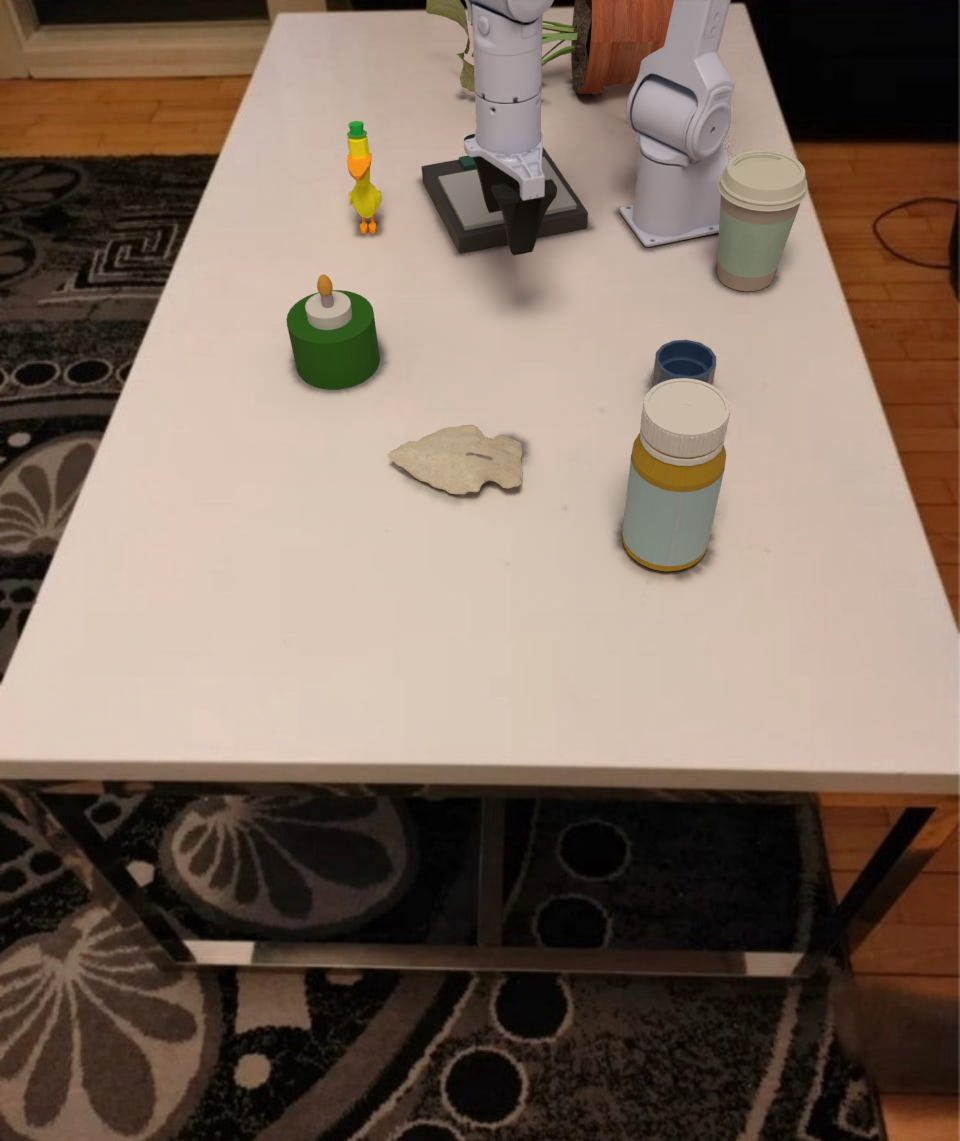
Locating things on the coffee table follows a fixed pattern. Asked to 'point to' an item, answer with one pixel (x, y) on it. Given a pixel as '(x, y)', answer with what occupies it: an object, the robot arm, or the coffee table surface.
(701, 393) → the bottle
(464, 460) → the decorative stone
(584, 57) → the potted plant
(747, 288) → the coffee cup
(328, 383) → the candle
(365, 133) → the toy figure
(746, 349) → the coffee table surface
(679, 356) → the blue cup
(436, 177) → the scale
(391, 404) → the coffee table surface
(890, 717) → the coffee table surface
